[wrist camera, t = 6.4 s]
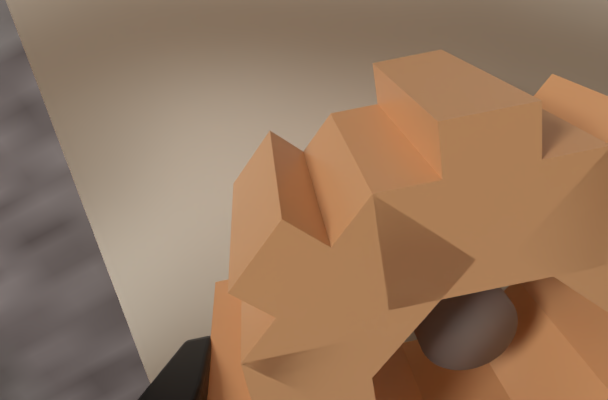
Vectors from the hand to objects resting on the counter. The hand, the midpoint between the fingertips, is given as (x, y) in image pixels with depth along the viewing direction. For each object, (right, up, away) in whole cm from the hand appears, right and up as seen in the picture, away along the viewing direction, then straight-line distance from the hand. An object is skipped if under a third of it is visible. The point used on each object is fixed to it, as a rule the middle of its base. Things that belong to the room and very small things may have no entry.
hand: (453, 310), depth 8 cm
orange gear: (0, +1, +1) cm, 1 cm away
